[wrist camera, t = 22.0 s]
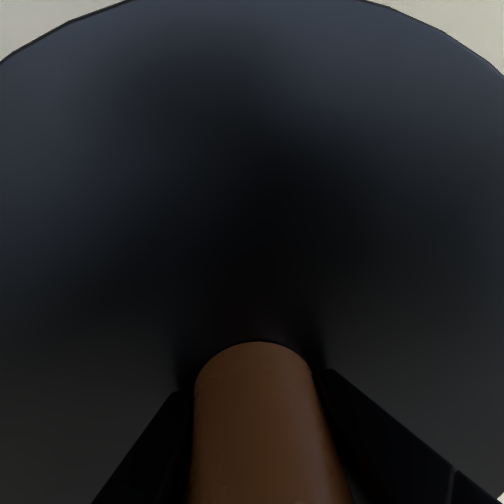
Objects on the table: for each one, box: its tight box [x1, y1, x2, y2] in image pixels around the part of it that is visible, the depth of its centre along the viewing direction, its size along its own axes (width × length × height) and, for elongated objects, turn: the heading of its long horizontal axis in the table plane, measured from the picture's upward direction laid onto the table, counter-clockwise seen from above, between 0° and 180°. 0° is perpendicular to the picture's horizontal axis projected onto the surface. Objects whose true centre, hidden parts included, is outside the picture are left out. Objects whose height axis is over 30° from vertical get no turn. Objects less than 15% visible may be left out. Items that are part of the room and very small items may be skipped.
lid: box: [0, 0, 504, 504], centre depth 8 cm, size 15×15×5 cm
